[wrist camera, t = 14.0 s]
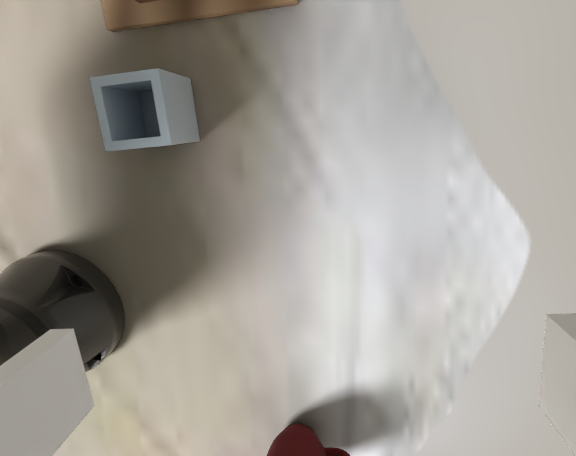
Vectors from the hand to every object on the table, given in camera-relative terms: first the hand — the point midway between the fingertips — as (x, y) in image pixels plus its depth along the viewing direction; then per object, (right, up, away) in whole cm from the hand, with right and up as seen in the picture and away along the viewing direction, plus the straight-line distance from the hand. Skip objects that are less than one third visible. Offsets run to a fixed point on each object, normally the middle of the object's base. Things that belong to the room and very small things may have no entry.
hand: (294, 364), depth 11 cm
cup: (-12, +15, +27) cm, 34 cm away
